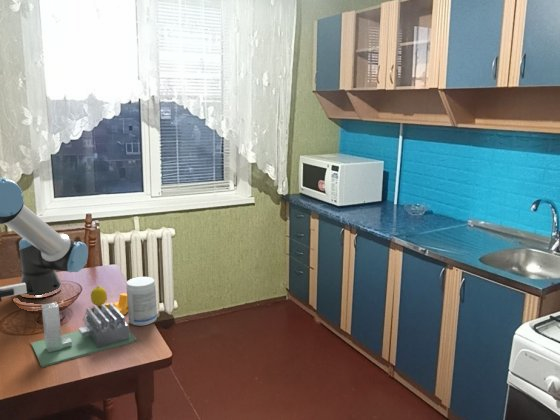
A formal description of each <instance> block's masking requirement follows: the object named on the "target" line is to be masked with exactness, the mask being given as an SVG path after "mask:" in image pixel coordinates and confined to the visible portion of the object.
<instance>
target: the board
mask: <svg viewBox="0 0 560 420" xmlns="http://www.w3.org/2000/svg"><path fill="white" fill-rule="evenodd" d="M61 338H62V339H66V338H70V339H71V341H72V346H69V347H65V348H62V349H60V350H57V351H53V352H49V353H48V351H47V349H46V347H45V339H41V340H38V341H34V342H30V344H31V347H32V349H33V351H34V353H35V355H36V357H37V360H38V362H39V364H40V366H41V368H45V367H48V366H51V365H56V364H59V363H63V362H66V361H69V360H73V359H76V358H79V357H83V356H84V357H85V356H88V355H91V354H95V353H98V352H102V351H105V350H108V349H112V348H116V347H120V346H123V345H127V344H130V343H133V342H137V340H138V339H137V338H136V337H135V336H134V335H133V333H132V332H131V331H130V330H129V340H126V341H122V342H119V343H115V344H112V345H108V346H104V347H101V348H97V347H96V346H95V344H94V343H93V341H92V340H91V339H90V337H89V336H85V337H82V336H81V334H80V333H79V330H77V331H74V332H69V333H65V334H61Z"/></svg>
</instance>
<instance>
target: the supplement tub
mask: <svg viewBox="0 0 560 420" xmlns="http://www.w3.org/2000/svg"><path fill="white" fill-rule="evenodd" d="M156 293H157V292H156V282H155V279H154V278H153V277H150V276H138V277H137V276H136V277H133V278H130V279H129V280H127V281H126V294H127V301H128V312H127V313H128V315H127V316H128V322H129V323H130V324H131V325H134V326H147V325H150V324H152V323H154V322H156V320H157V318H158V314H157V313H158V311H157V309H158V308H157V296H156V295H157V294H156Z"/></svg>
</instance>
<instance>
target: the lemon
mask: <svg viewBox="0 0 560 420" xmlns="http://www.w3.org/2000/svg"><path fill="white" fill-rule="evenodd" d="M107 297H108V295H107V291H106V289H105V288H104V287H102V286H100V285H98V286H96V287H94V288H93V289H92V290H91V293H90V300H91V303H92V304H93V305H94V306H97V307H98V308H99V307H102V306H101V304H104V305H105V304H106V302H107V299H108V298H107Z"/></svg>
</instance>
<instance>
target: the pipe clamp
mask: <svg viewBox="0 0 560 420" xmlns="http://www.w3.org/2000/svg"><path fill="white" fill-rule="evenodd" d="M111 303H112V304H113V305H114V306H115V307H116V308H117V309H118V311H119V312H120V313H121V314H122V315H123V316H125V315H126V314H127V313H128V301H127V292H125V293H124V292H122V293H120V294H119V299H118V301H116V302H111ZM104 305H105V306H106V307H107V308H108V309H109V302H107V303H106V302H105V303H104Z"/></svg>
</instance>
